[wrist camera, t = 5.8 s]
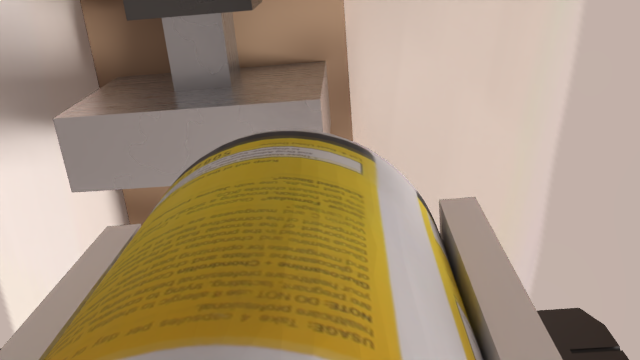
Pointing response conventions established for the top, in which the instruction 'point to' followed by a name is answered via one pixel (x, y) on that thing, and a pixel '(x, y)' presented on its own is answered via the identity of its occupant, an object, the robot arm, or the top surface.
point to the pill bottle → (280, 264)
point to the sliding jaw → (185, 102)
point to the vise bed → (253, 50)
